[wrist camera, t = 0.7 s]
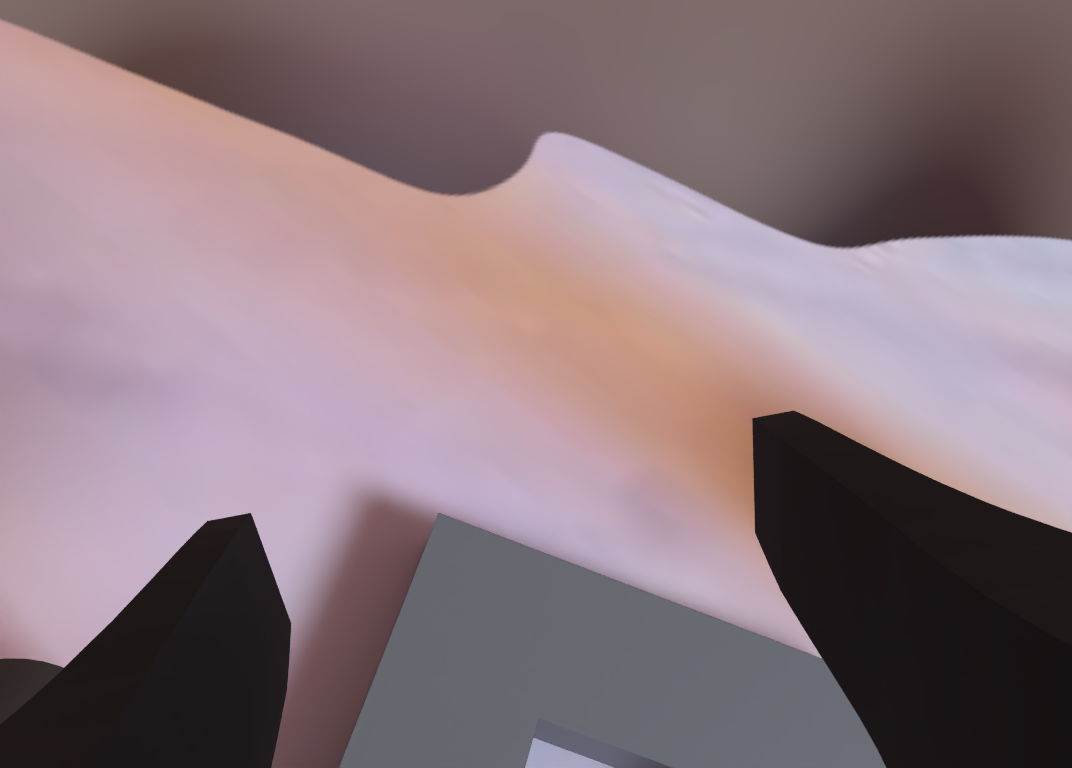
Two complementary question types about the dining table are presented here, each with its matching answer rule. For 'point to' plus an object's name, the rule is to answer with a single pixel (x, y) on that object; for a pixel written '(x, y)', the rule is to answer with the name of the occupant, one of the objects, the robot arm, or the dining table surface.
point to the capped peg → (22, 682)
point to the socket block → (586, 674)
